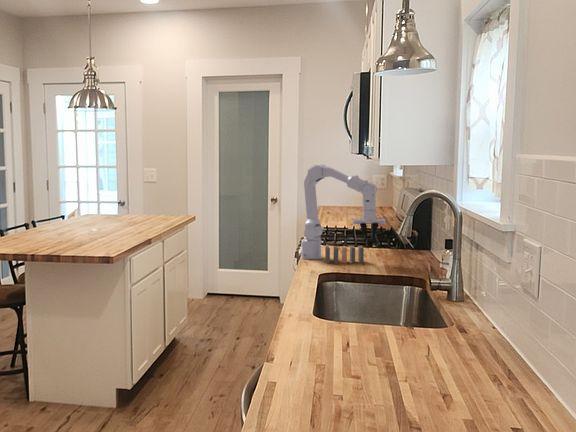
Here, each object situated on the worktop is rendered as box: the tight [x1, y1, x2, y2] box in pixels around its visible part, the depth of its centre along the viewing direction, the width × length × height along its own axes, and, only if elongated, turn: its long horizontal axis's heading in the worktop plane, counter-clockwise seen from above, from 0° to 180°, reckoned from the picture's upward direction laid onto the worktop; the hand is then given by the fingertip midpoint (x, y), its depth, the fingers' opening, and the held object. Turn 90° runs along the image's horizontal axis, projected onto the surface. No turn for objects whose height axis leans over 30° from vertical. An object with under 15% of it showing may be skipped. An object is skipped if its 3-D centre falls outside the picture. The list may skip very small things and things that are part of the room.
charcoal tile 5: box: [324, 245, 331, 265], centre depth 225 cm, size 2×5×7 cm, turn 2°
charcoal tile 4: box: [333, 245, 339, 265], centre depth 225 cm, size 2×5×7 cm, turn 2°
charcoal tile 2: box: [349, 245, 356, 264], centre depth 225 cm, size 2×5×7 cm, turn 2°
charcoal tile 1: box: [357, 245, 365, 264], centre depth 225 cm, size 2×5×7 cm, turn 2°
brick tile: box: [341, 245, 348, 264], centre depth 225 cm, size 2×5×7 cm, turn 2°
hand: (368, 239), depth 225 cm, fingers closed
